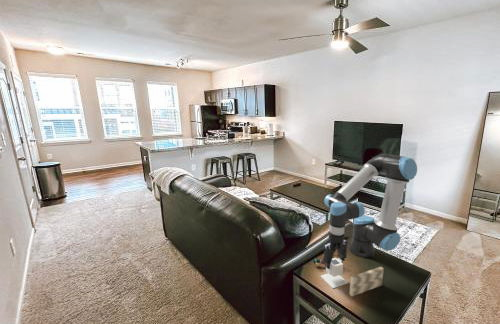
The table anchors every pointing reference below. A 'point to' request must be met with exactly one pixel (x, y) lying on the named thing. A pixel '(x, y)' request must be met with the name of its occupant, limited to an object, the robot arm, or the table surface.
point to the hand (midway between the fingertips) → (334, 271)
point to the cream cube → (336, 267)
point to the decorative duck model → (322, 260)
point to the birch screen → (366, 281)
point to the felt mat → (334, 280)
